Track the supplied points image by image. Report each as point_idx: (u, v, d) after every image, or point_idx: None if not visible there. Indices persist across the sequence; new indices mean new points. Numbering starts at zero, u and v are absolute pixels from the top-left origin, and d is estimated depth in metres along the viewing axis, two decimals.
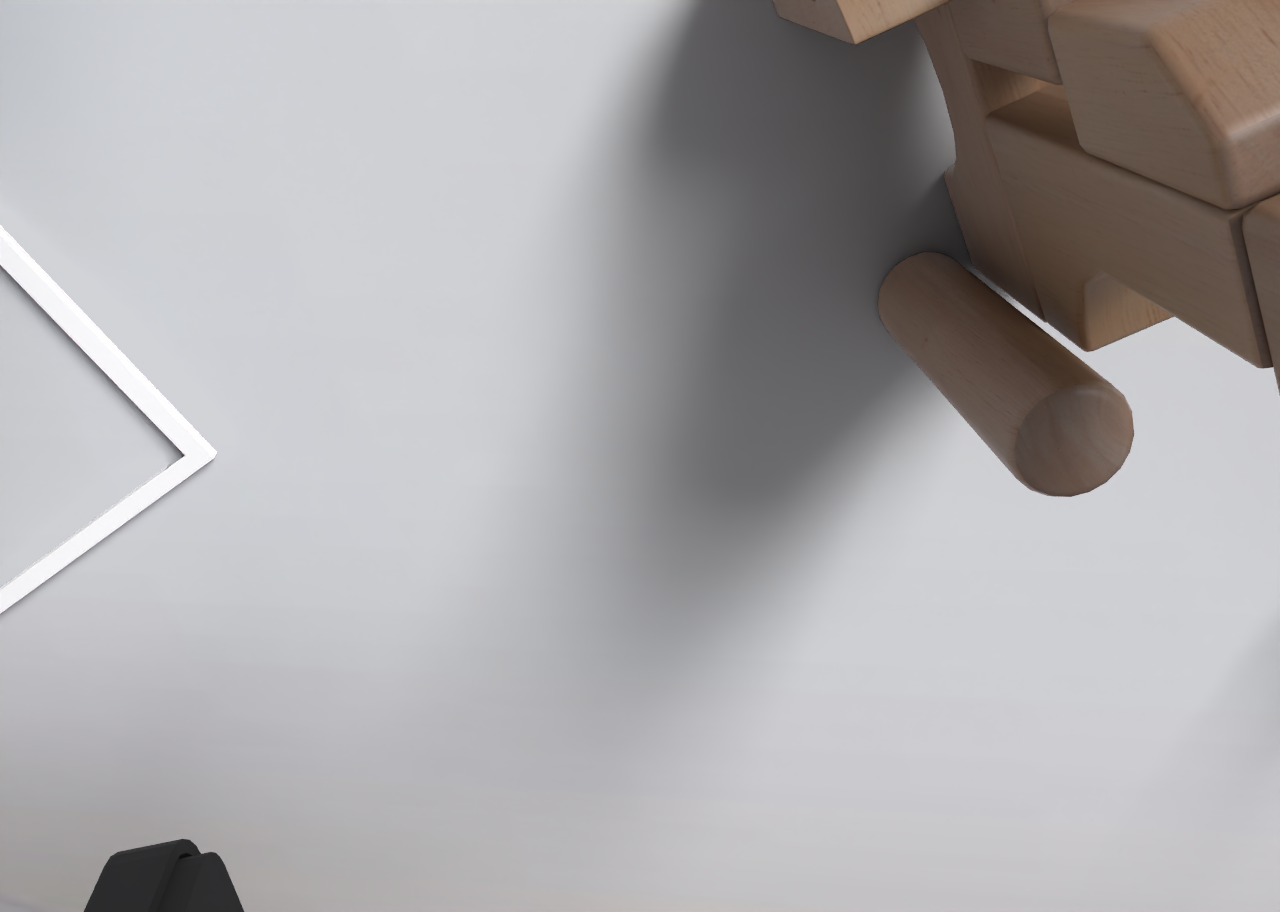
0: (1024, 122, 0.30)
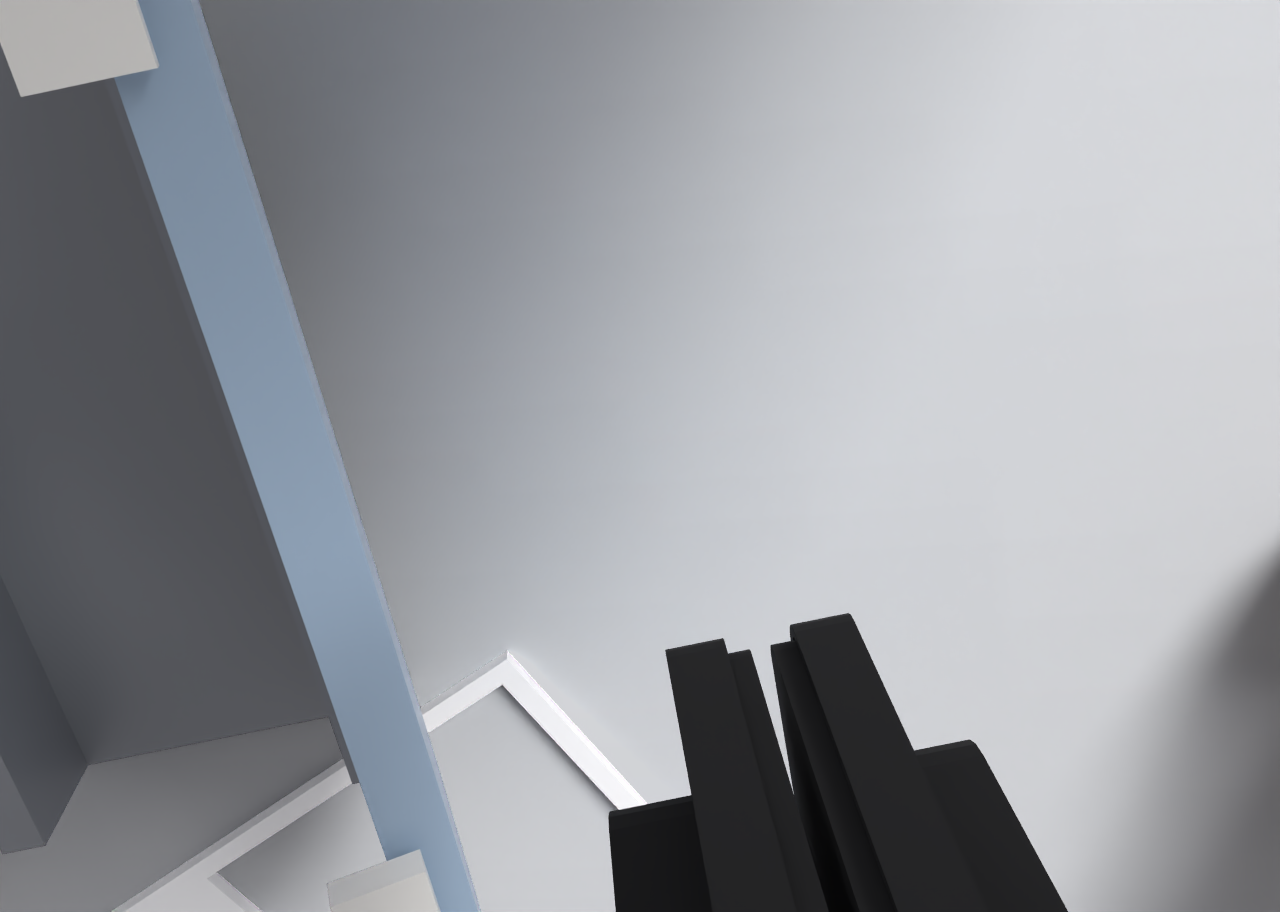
0: None
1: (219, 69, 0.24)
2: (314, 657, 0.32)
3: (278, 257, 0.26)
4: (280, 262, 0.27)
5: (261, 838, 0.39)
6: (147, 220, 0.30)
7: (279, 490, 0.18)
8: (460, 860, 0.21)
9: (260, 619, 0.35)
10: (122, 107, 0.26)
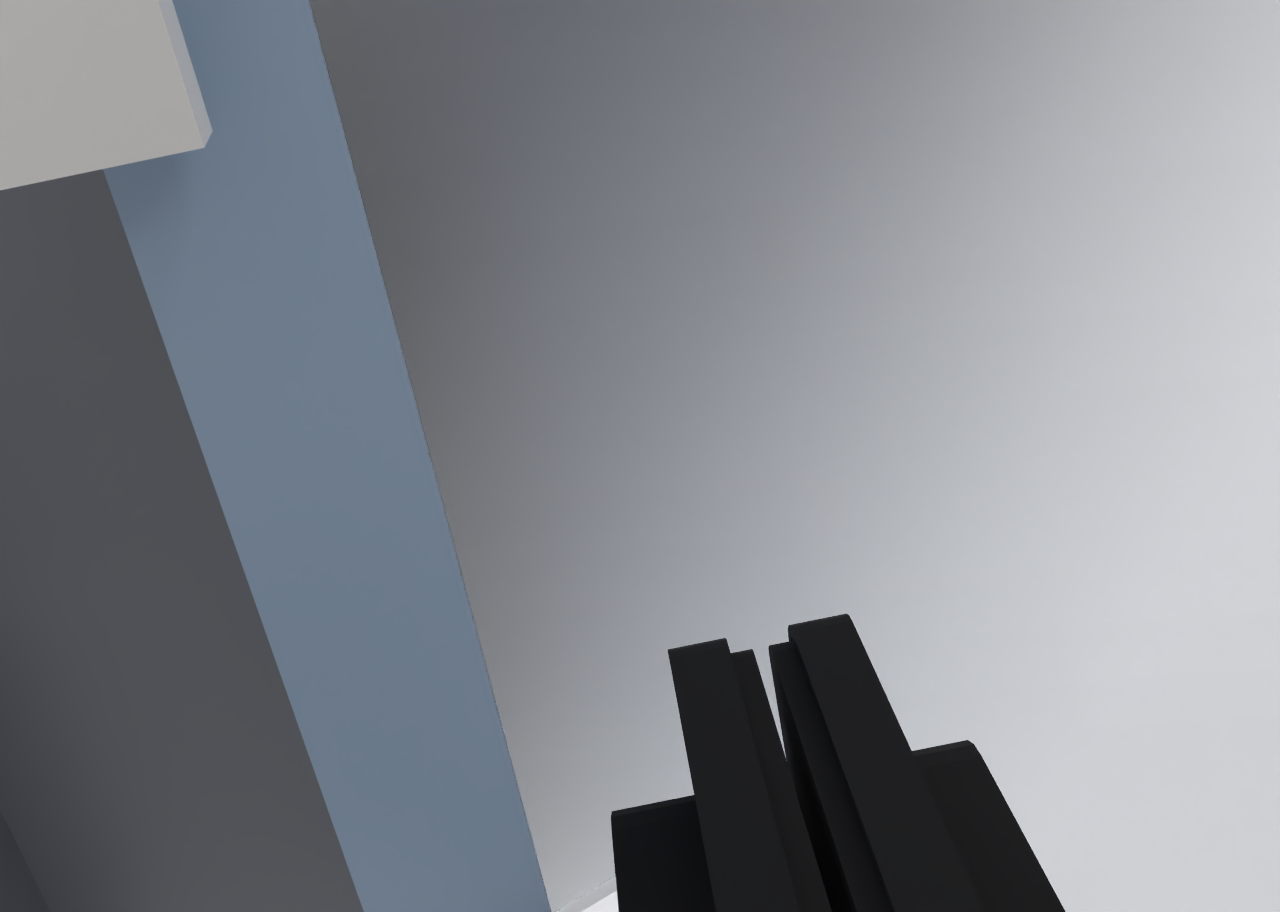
0: None
1: None
2: None
3: None
4: None
5: None
6: None
7: None
8: None
9: None
10: None
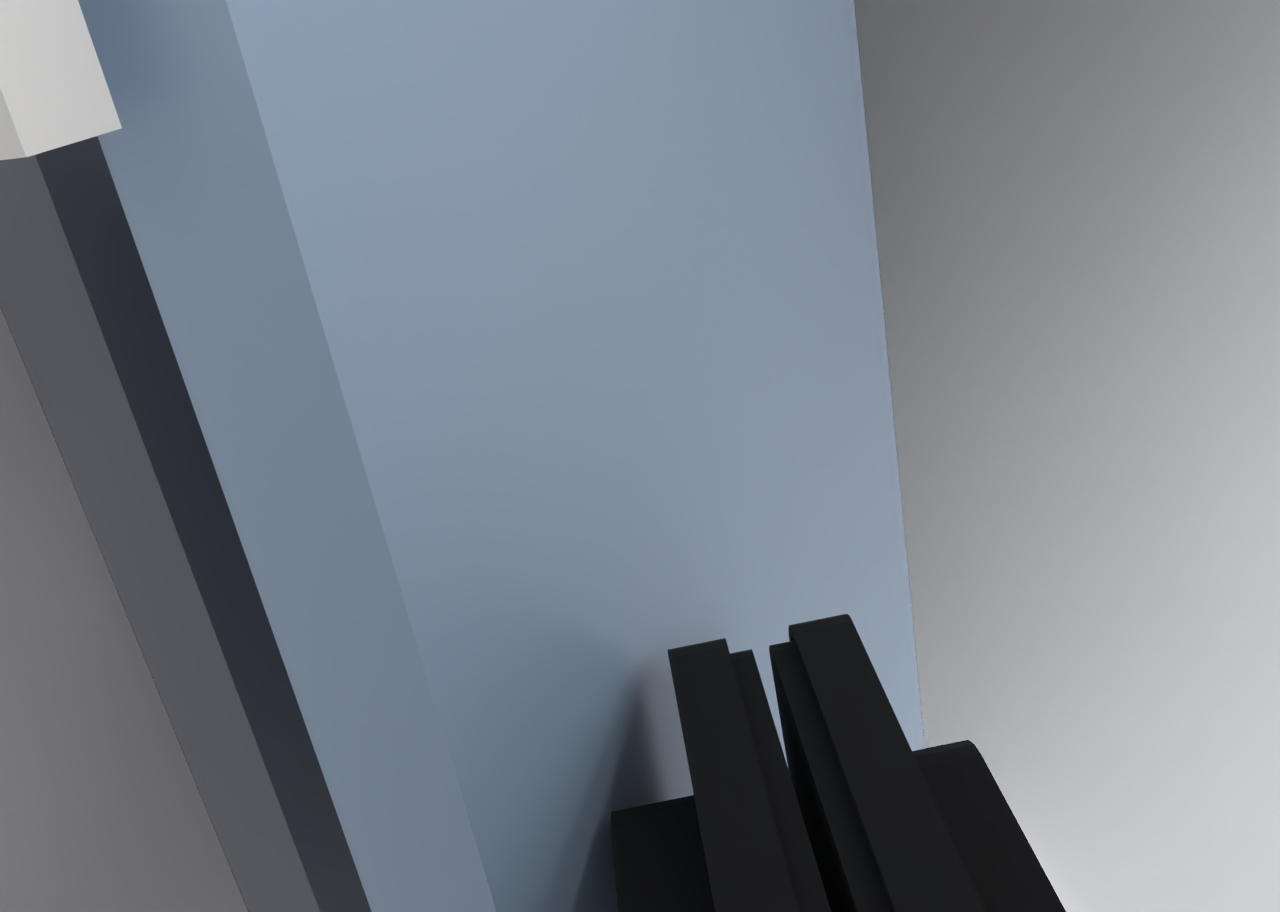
0: None
1: None
2: None
3: (852, 315, 0.16)
4: (872, 313, 0.17)
5: None
6: None
7: None
8: None
9: None
10: None
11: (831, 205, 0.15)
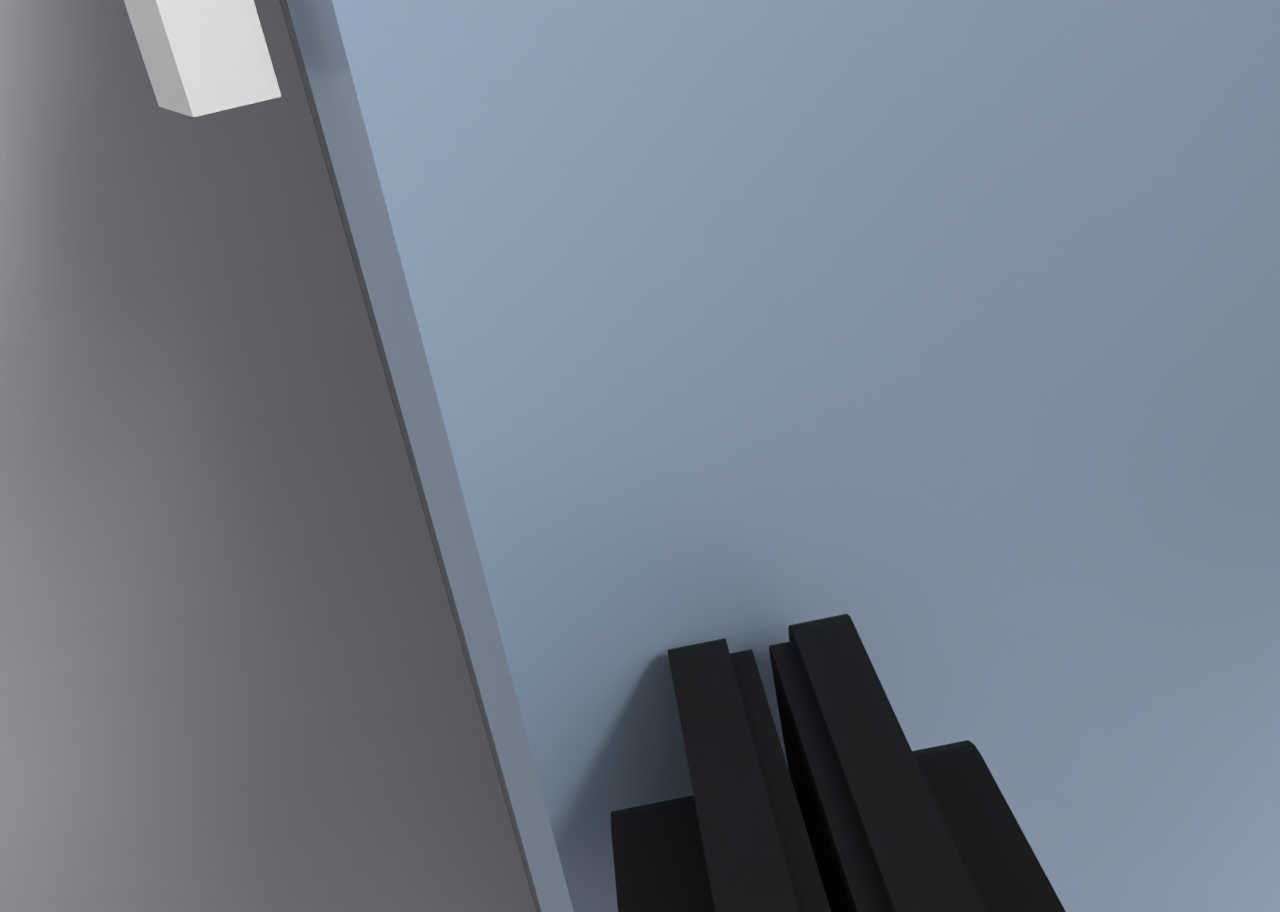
0: None
1: None
2: None
3: None
4: None
5: None
6: None
7: (508, 766, 0.11)
8: None
9: None
10: None
11: (1277, 197, 0.13)
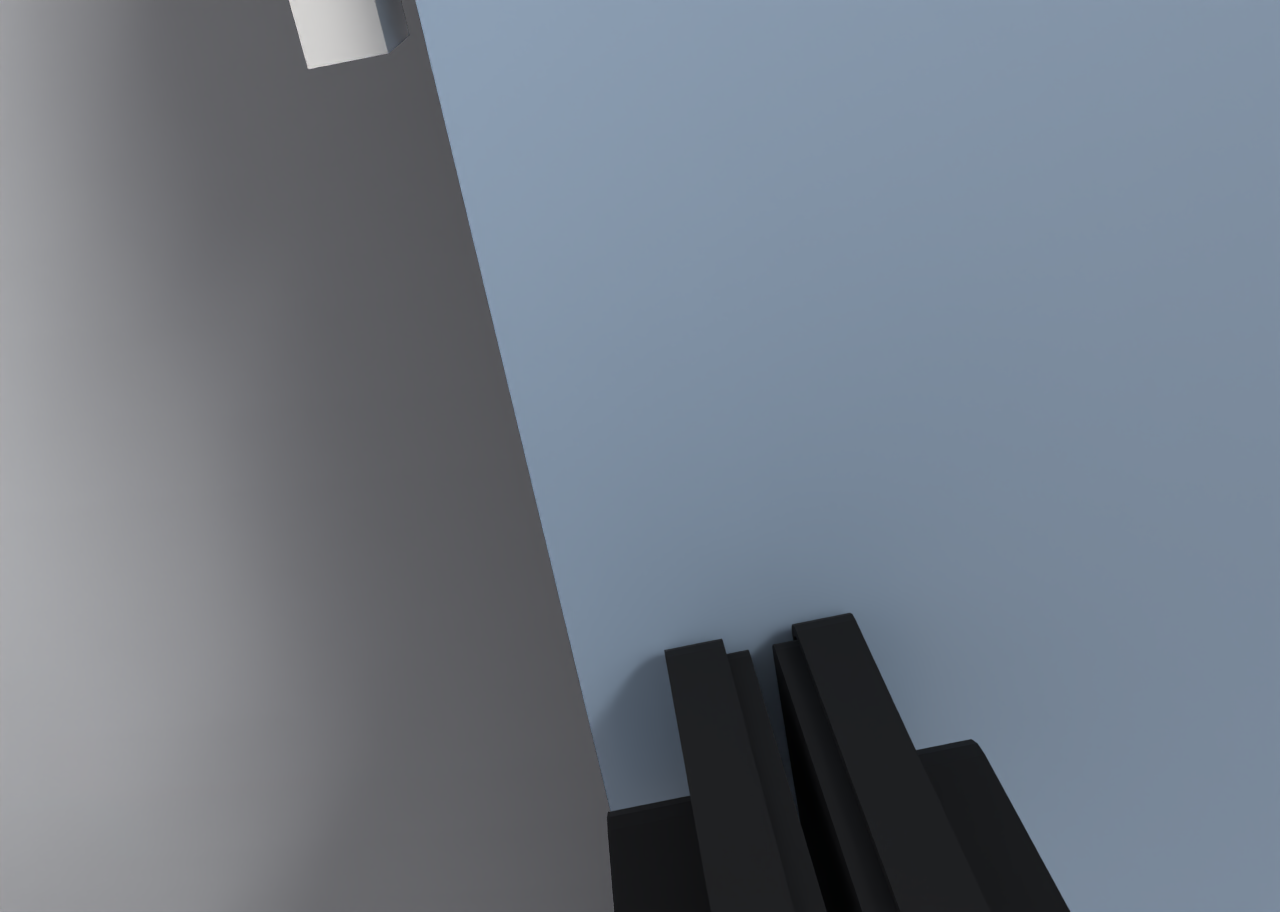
0: None
1: None
2: None
3: None
4: None
5: None
6: None
7: None
8: None
9: None
10: None
11: None
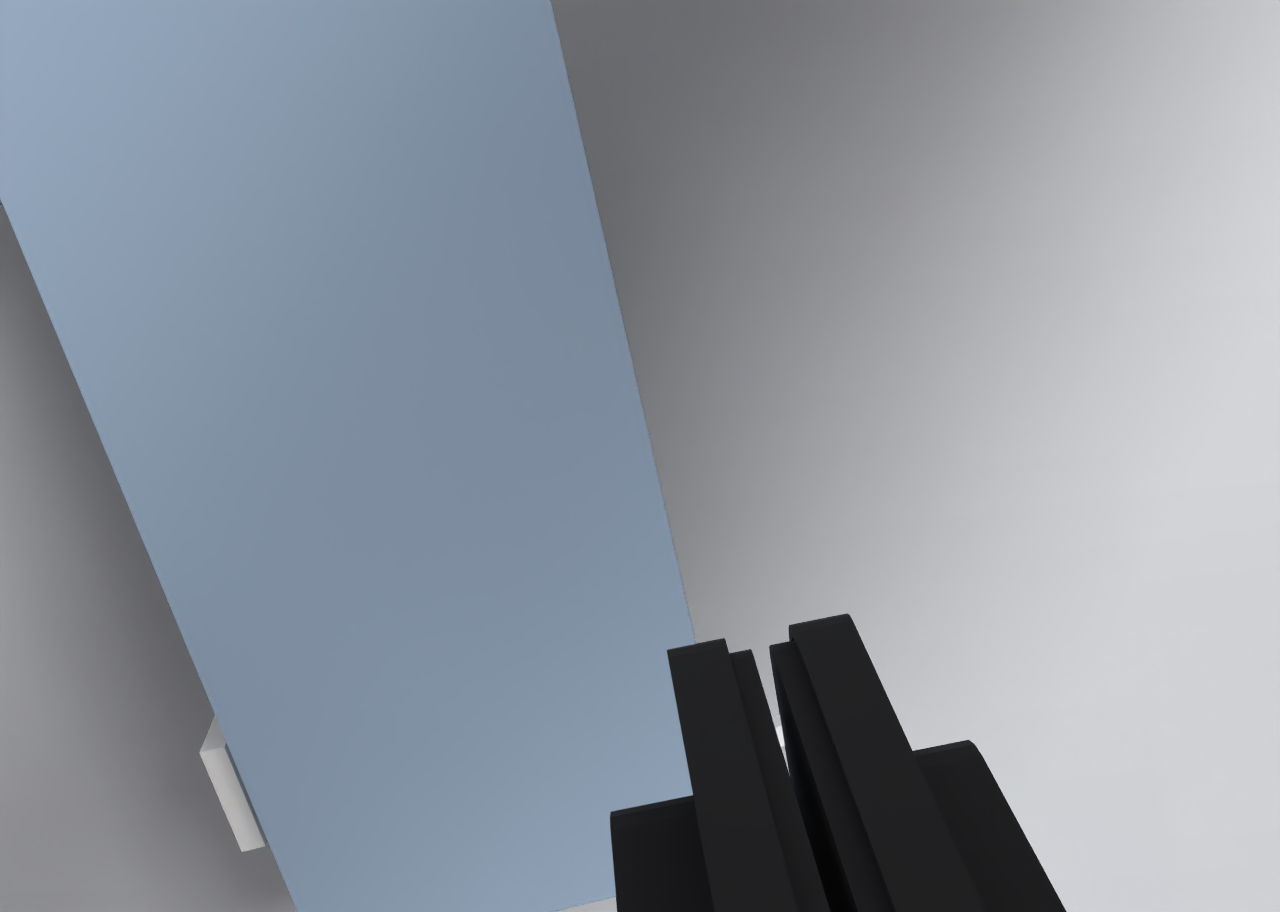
0: None
1: (488, 135, 0.23)
2: None
3: (552, 325, 0.25)
4: (597, 329, 0.25)
5: None
6: None
7: None
8: (245, 787, 0.28)
9: None
10: None
11: (515, 256, 0.24)
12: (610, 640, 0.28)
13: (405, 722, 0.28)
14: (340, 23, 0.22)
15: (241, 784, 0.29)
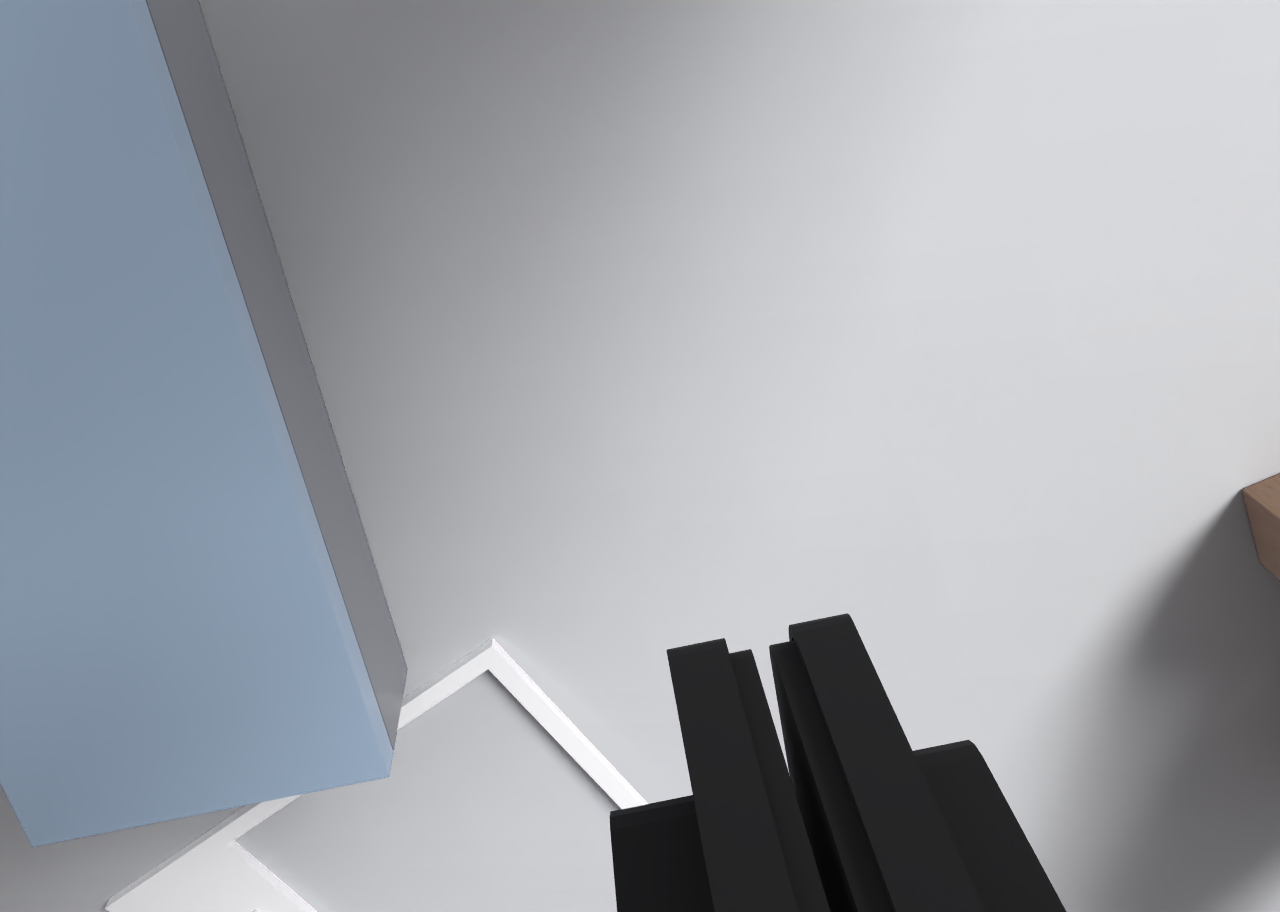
0: None
1: (109, 171, 0.29)
2: None
3: (178, 325, 0.31)
4: (216, 330, 0.31)
5: (274, 809, 0.43)
6: None
7: None
8: None
9: None
10: None
11: (142, 269, 0.30)
12: (253, 584, 0.34)
13: (85, 645, 0.34)
14: None
15: None
